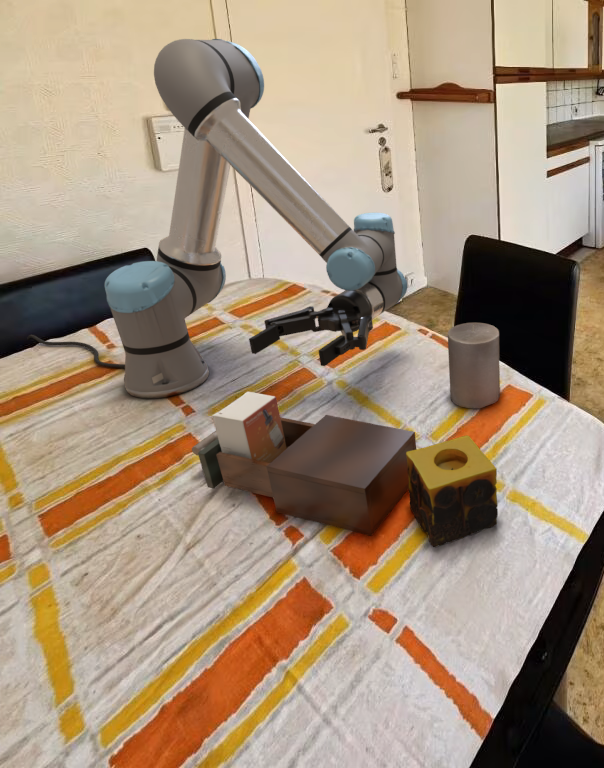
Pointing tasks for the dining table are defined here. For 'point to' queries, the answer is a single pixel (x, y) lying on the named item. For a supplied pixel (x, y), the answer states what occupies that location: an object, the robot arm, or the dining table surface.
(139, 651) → the dining table surface
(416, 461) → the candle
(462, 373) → the grey upright cylinder
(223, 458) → the drawer
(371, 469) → the cabinet
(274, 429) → the small box
